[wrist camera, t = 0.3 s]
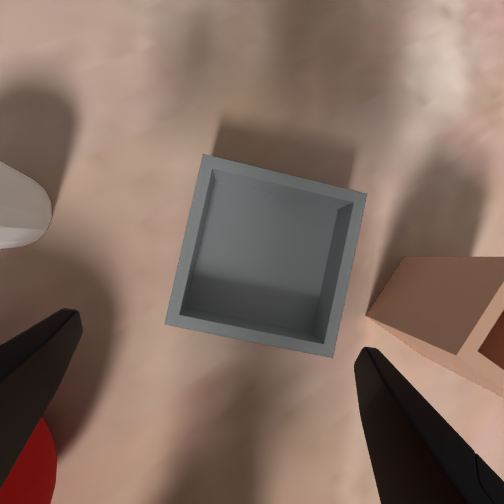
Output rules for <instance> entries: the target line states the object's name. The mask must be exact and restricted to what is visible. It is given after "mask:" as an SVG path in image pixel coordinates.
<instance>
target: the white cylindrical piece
mask: <svg viewBox="0 0 504 504" xmlns="http://www.w3.org/2000/svg"><path fill="white" fill-rule="evenodd" d="M51 218H52V205H51V201H50V199H49V197H48V195H47V193H46V191H45V189H44V188H43V187H41V186H40V185H39V184H38V183H37V182H36V181H35V180H33V179H31V178H29V177H28V176H26V175H24V174H22V173H20V172H18V171H17V170H15V169H13V168H11V167H9V166H7V165H6V164H4V163H2V162H0V249H4V248H15V247H24V246H26V245H28V244H31V243H33V242H35V241H37V240H38V239H39V238H40V237H41V236H42V235H43V234H44V233H45V232H46V231H47V229H48V226H49V223H50V221H51Z"/></svg>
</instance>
